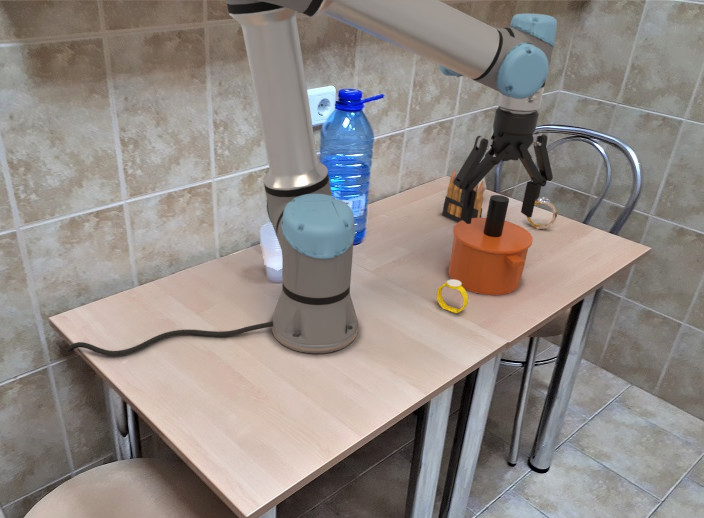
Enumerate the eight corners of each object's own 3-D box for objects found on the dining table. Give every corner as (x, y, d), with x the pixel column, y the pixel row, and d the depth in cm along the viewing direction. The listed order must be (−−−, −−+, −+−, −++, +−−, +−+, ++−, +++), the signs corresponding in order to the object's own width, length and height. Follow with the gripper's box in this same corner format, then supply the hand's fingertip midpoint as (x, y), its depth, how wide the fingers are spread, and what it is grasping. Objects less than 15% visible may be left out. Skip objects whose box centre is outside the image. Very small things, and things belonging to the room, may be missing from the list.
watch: (467, 313, 116) (473, 285, 113) (460, 318, 114) (465, 291, 111) (440, 301, 119) (444, 274, 116) (432, 306, 117) (437, 279, 114)
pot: (476, 306, 118) (485, 262, 113) (431, 259, 134) (436, 219, 129) (541, 297, 122) (553, 254, 117) (489, 252, 138) (497, 213, 133)
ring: (521, 226, 151) (528, 195, 147) (527, 222, 153) (534, 192, 149) (549, 234, 147) (557, 203, 143) (554, 230, 150) (562, 199, 145)
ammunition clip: (479, 228, 149) (488, 181, 143) (474, 229, 148) (483, 182, 142) (446, 213, 156) (453, 168, 150) (441, 214, 155) (448, 169, 149)
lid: (476, 260, 115) (484, 217, 111) (439, 226, 128) (445, 186, 123) (547, 251, 119) (558, 210, 115) (504, 219, 132) (512, 181, 127)
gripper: (465, 117, 104) (448, 231, 115) (589, 110, 110) (561, 219, 121) (445, 106, 110) (430, 216, 121) (563, 100, 116) (539, 205, 127)
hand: (496, 217), depth 121 cm, fingers open, 13 cm apart
